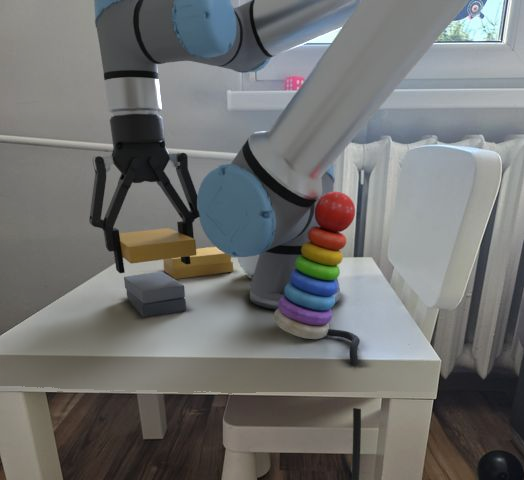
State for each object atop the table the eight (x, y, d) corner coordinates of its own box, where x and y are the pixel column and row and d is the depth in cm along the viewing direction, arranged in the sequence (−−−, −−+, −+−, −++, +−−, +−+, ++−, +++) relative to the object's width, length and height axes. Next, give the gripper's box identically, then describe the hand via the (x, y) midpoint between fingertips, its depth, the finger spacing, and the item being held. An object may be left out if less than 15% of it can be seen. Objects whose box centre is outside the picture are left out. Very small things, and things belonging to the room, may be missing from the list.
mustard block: (196, 255, 75) (195, 239, 74) (130, 263, 71) (128, 246, 70) (169, 242, 87) (168, 228, 86) (111, 248, 83) (109, 234, 82)
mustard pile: (219, 264, 109) (218, 245, 108) (233, 271, 103) (232, 252, 101) (163, 271, 104) (161, 252, 102) (174, 279, 97) (172, 259, 96)
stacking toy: (328, 328, 73) (373, 200, 65) (324, 347, 65) (375, 206, 58) (276, 311, 73) (316, 182, 66) (267, 328, 66) (311, 185, 58)
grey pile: (187, 310, 80) (185, 286, 78) (142, 317, 77) (139, 292, 75) (167, 292, 89) (165, 271, 87) (126, 298, 86) (123, 276, 84)
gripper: (200, 115, 79) (211, 254, 88) (50, 117, 70) (77, 271, 79) (218, 112, 73) (227, 262, 81) (55, 113, 64) (84, 281, 72)
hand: (154, 266), depth 80 cm, fingers closed on mustard block, 10 cm apart
